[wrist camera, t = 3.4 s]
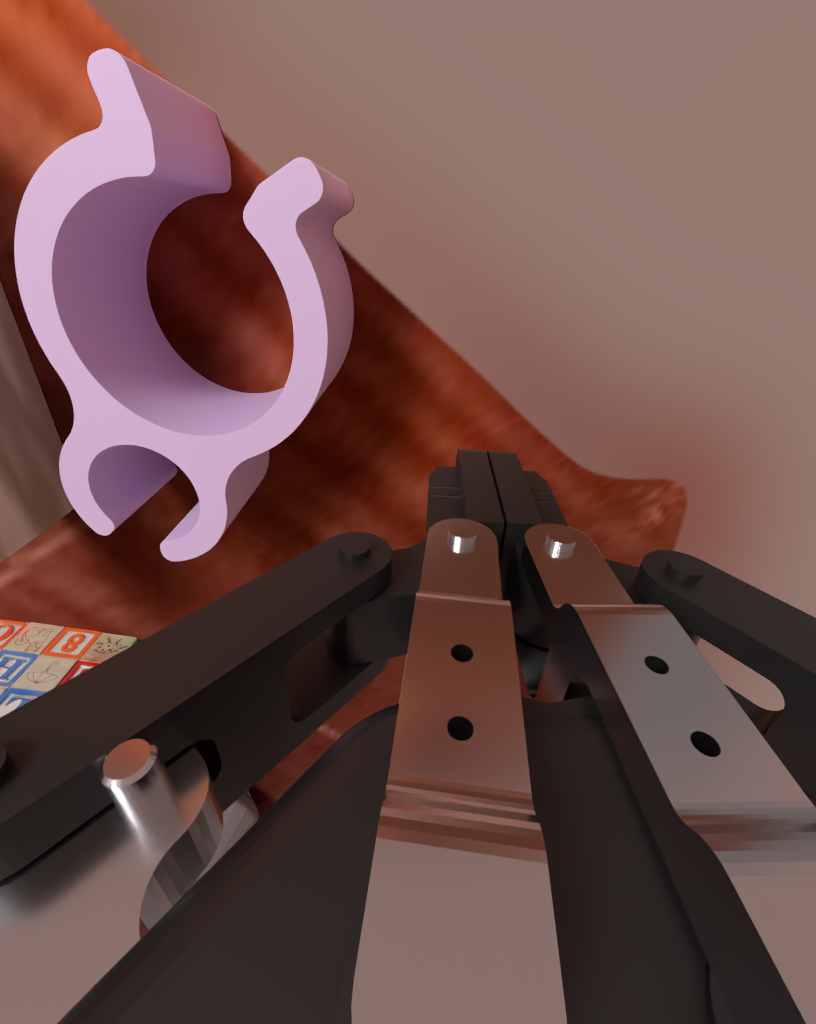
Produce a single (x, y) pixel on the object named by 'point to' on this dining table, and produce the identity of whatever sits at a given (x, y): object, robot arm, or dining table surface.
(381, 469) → the dining table surface
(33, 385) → the board
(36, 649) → the stack of blocks
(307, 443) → the dining table surface
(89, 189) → the clip
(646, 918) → the robot arm
